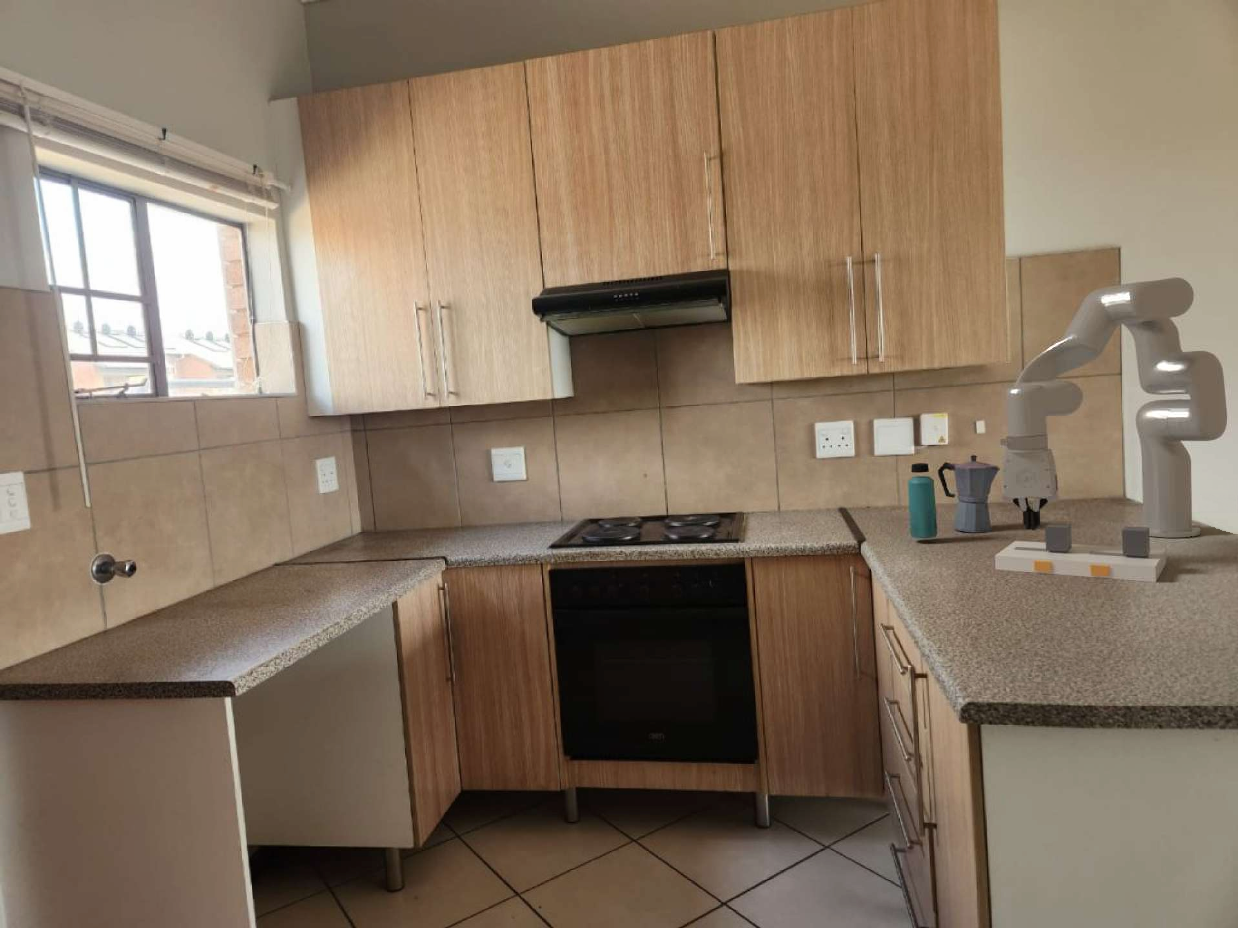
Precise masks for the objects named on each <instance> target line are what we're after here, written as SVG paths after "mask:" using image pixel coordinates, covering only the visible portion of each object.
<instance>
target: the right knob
mask: <svg viewBox="0 0 1238 928" xmlns="http://www.w3.org/2000/svg"><path fill="white" fill-rule="evenodd" d="M1121 537H1122V540H1121V541H1122V543H1121V544H1122V546H1121V547H1123V555H1131V556H1148V554H1149V553H1150V549H1151V542H1150V536H1149V527H1137V526H1127V525H1126V526H1124V527H1123V529H1122V530H1121Z"/></svg>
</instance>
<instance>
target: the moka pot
mask: <svg viewBox="0 0 1238 928" xmlns="http://www.w3.org/2000/svg"><path fill="white" fill-rule="evenodd" d="M977 458H978V456H977V455H975V454H973V455H970V461H967V462H962V463H950V462H944V463H943V464H942V465H941V466H940V467H939V468H938V470H937V476H938V478H939V480H940V483H941V486H942V488H943V492H944V495H945V497H948V498H949V497H950V498H952V499H953V498H955V497H956V494H955V493H951V492H950V491H949V489H948V488H949V487H948V485H947V480H946V478H945V474H944V471H945V470H949V471H953V472H954V476H955V478H954V479H955V484H956V492H957V498H958V501H957V507H956V511H955V519H954V526H953V529H954V530H956V531H959V532H963V533H975V534H976V533H977V534H978V533H979V534H980V533H987V532H988V533H989V532H990V531H991V530H992V527H991V519H990V509H989V504H988V501H989V495H990V493H991V487H992V484H993V482H994V480H995V478H996V476H997V473H998V472H999V471H1000V470H1001V471H1002V468H1001V467H999V466H998V465H995V464H991V463H990V464H989V463H986V462H980V461H977Z"/></svg>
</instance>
